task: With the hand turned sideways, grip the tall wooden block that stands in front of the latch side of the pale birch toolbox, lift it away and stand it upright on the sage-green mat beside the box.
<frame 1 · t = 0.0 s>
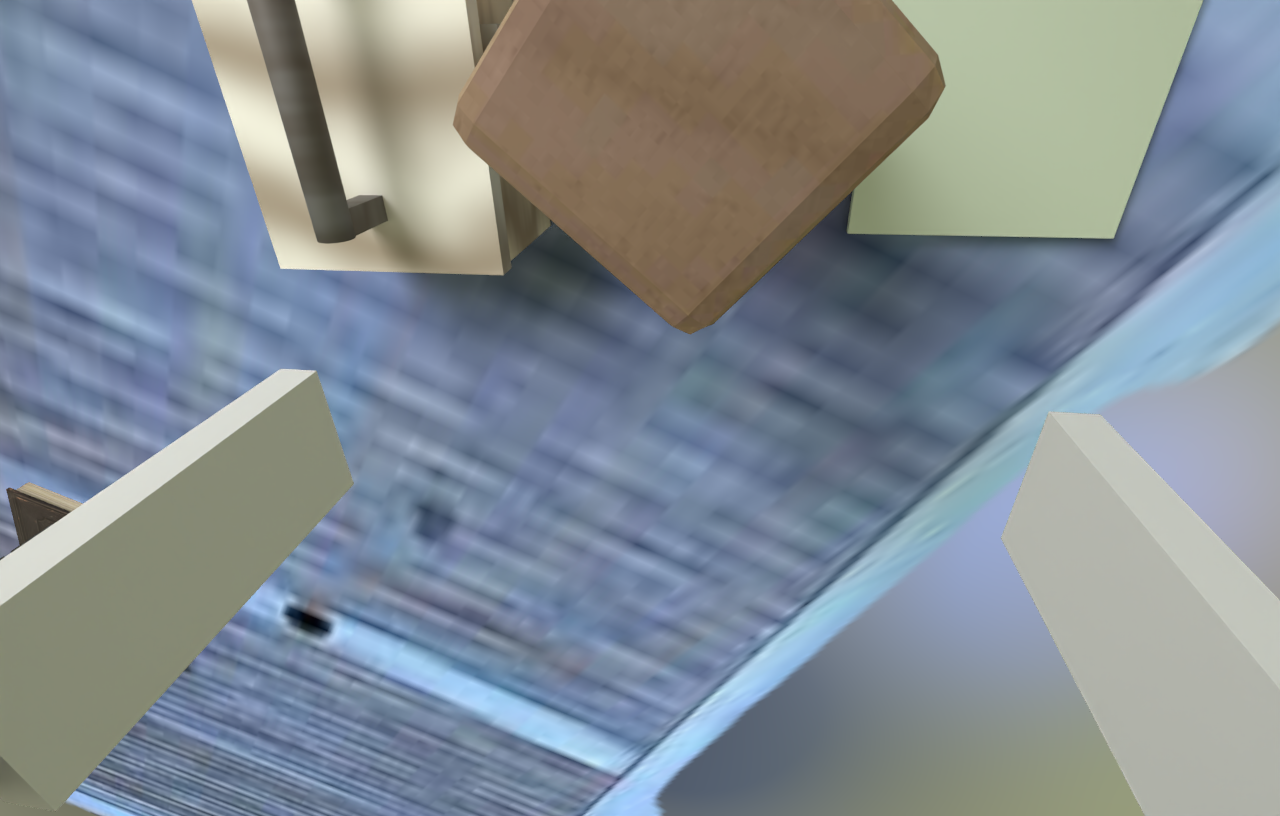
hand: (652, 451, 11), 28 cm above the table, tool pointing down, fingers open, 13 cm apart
toolbox: (433, 63, 34), on the table
mat: (1008, 95, 31), on the table
hardcover book: (119, 576, 66), on the table
wooden block: (715, 78, 33), on the table
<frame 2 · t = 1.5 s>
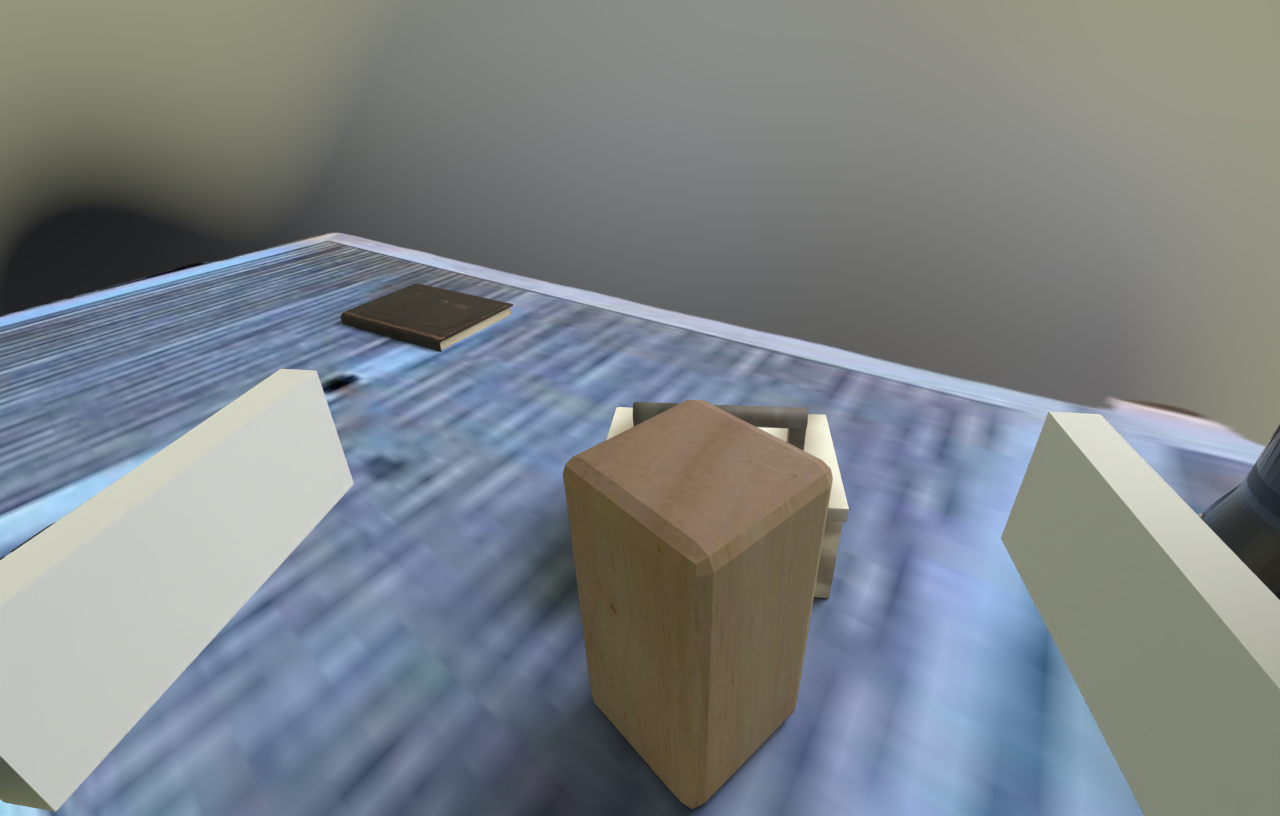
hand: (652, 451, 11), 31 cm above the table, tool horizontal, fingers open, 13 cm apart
toolbox: (714, 536, 53), on the table
hardcover book: (429, 322, 99), on the table
wooden block: (692, 707, 40), on the table
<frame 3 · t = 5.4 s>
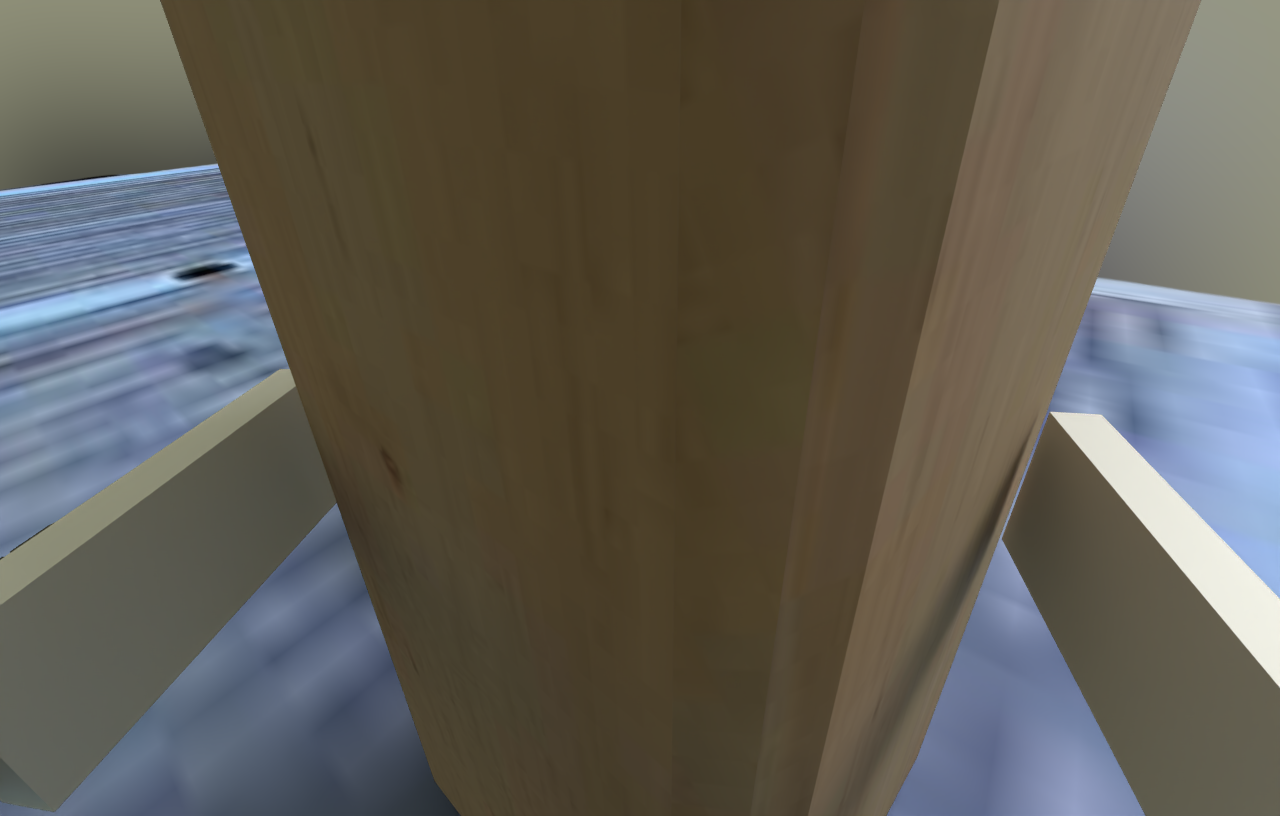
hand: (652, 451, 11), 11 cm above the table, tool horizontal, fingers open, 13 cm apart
wooden block: (675, 767, 17), on the table, touching gripper
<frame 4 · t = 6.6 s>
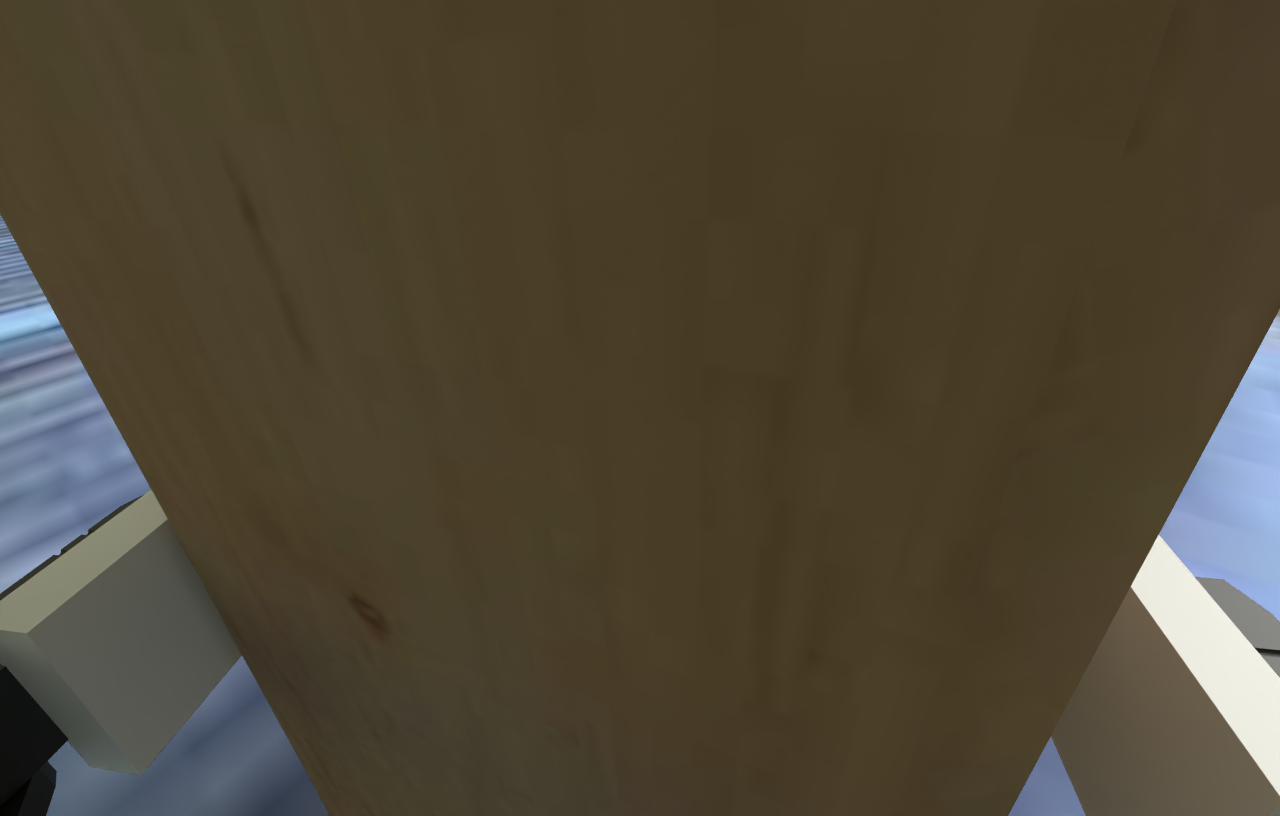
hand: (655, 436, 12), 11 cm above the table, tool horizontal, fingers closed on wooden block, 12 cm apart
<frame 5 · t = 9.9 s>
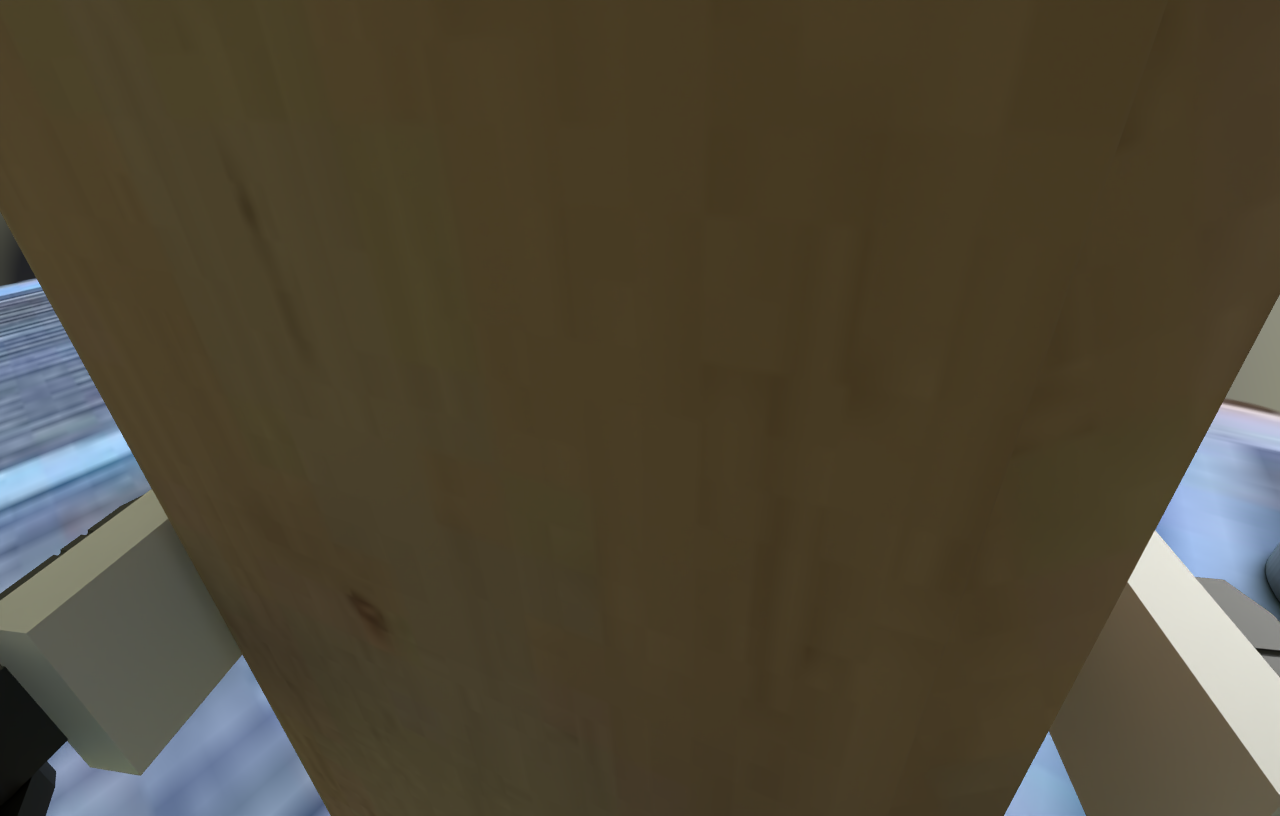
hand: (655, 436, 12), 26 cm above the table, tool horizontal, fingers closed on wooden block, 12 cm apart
when the fingers open (13 cm above the table, at t = 13.1 s): wooden block drops 1 cm, resting on mat.
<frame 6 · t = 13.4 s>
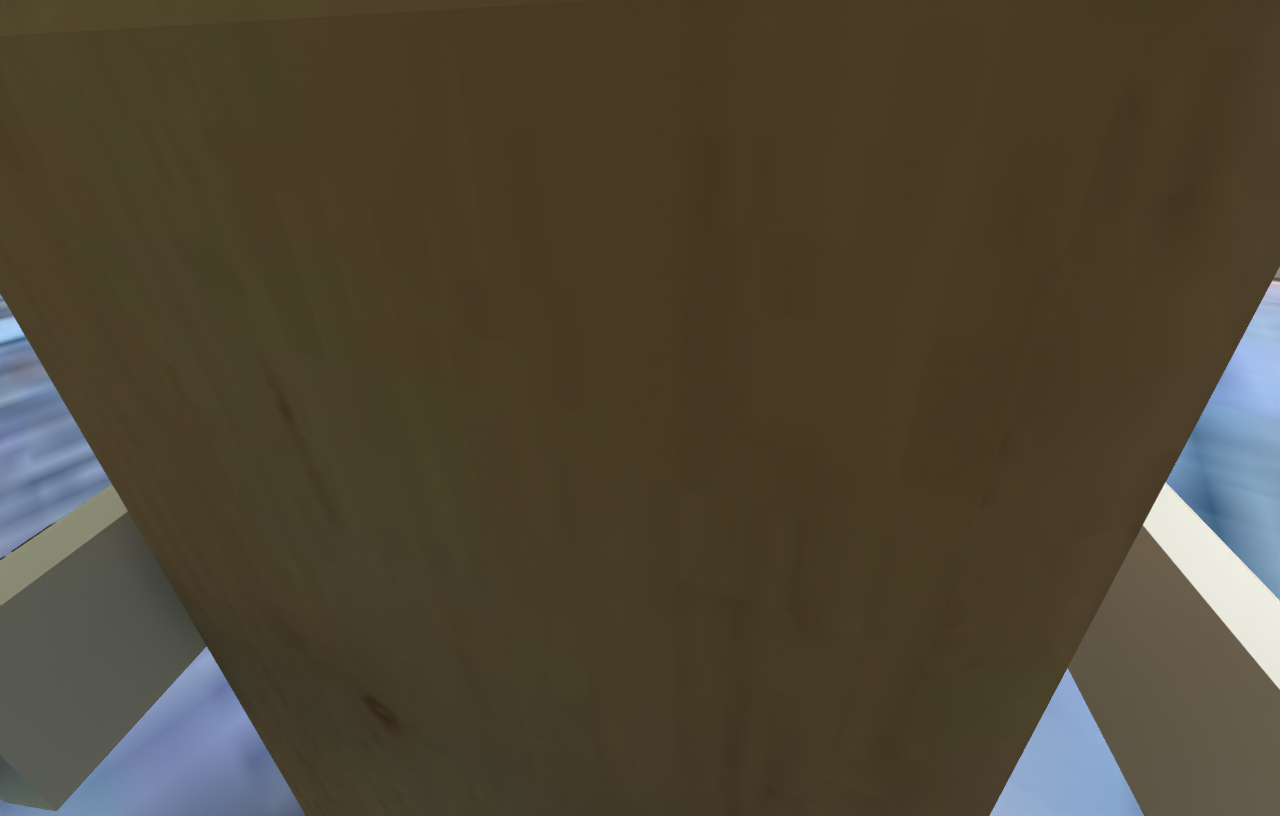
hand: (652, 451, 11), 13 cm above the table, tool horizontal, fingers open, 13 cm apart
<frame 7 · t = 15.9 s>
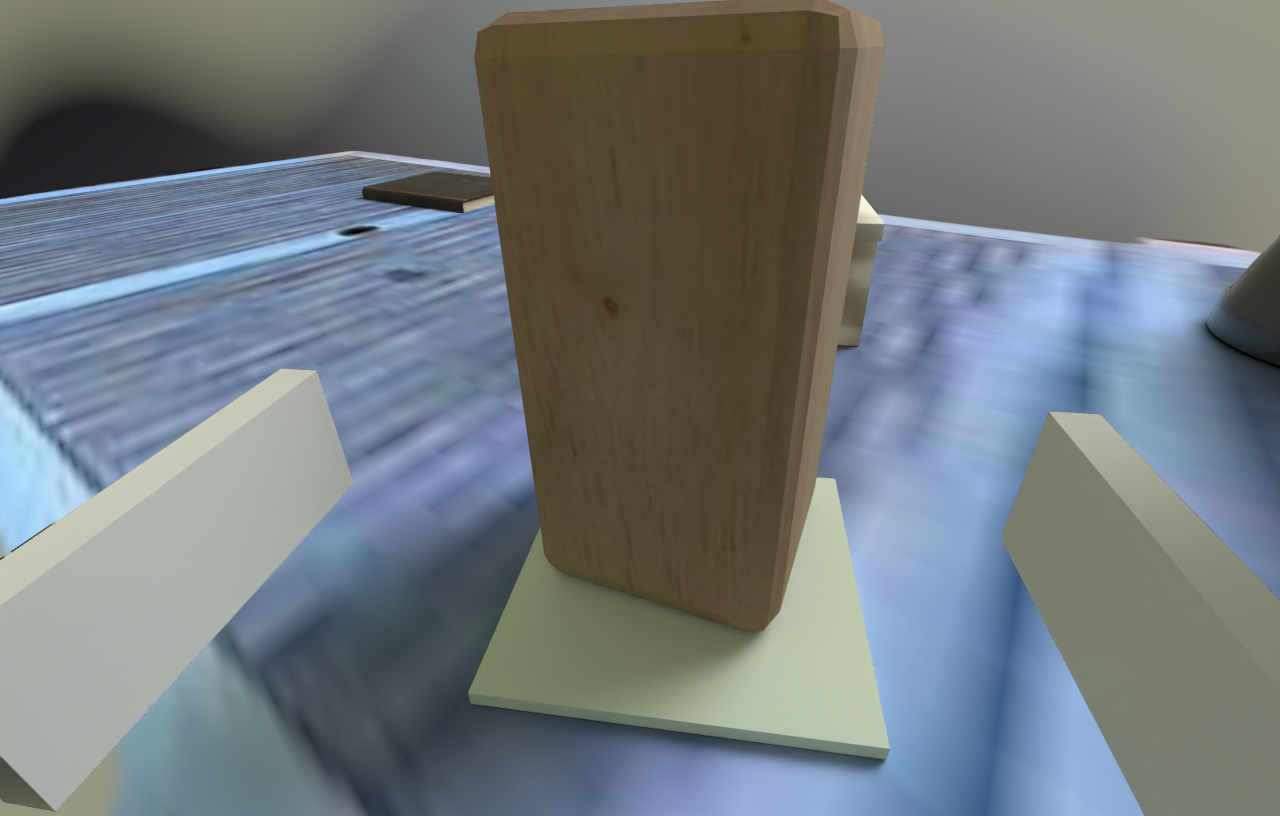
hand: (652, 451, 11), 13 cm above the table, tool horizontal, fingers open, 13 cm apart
toolbox: (740, 312, 52), on the table
mat: (686, 575, 26), on the table
hardcover book: (450, 200, 100), on the table
wooden block: (687, 533, 28), resting on mat
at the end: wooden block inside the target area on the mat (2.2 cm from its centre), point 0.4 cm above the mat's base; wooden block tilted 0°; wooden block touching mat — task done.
